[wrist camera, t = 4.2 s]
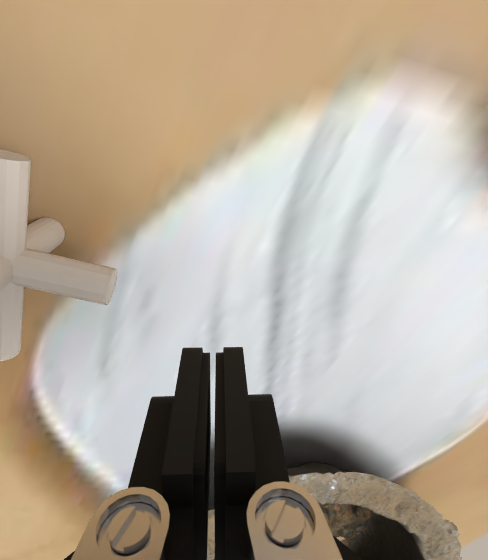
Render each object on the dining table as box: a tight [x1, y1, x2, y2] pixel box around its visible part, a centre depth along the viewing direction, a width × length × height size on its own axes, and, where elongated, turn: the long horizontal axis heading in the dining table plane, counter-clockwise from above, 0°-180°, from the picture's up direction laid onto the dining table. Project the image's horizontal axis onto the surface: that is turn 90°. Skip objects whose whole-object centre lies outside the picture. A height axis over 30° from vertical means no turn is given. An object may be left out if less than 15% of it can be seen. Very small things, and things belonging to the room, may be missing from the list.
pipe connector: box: [0, 150, 117, 361], centre depth 17 cm, size 10×10×10 cm
